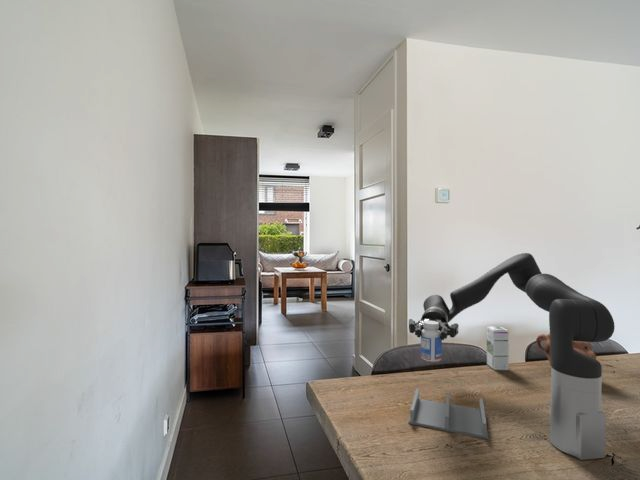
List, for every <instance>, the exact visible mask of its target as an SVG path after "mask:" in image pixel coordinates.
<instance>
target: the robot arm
mask: <svg viewBox="0 0 640 480" xmlns="http://www.w3.org/2000/svg"><path fill="white" fill-rule="evenodd" d="M506 274H508V277H510V280H511V283H513V285H514V286H515V287H516V288H517V289H518V290H520V291H522V292H524V293H525V294H526V296H528V297H529V299H530V300H531V301H532V303H534V304H535V306H537V307H538V308H540V309H541V310H543V311H545V312H548V324H549V325H548V326H549V333H550V353H551V365H550V367H551V368H550V413H549V414H550V417H549V418H550V421H549V422H550V429H549V430H550V431H549V439H550V443H551V444H552V446H554V447H555V448H556V449H558V450H559V451H561V452H563V453H566V454H568V455H570V456H572V457H575V458H577V459H578V460H580V461H582V460H583V461H585V460H595V459H604V458H606V419H607V416H606V413H605V412H602V383H603V382H602V381H603V380H602V375H603V374H602V373H603V368H602V367H603V366H602V363H601V362H600V361H599V360H597V358H596V359H594V358H592V357H590V356H587V355H585V354H582V353H579V352H577V351H576V350H574V349H573V343H572V341H582V342H590V343H601V342H605V341H608V340H610V339H611V337H612V336H613V334H614V332H615V321H614V318H613V316H612V313H611V312H610V311H609V309H608V307H606V306H605V305H604V304H603V303H602V302H600V301H598V300H596V299H594V298H591V297H589V296H587V295H584V294H583V293H581V292H579V291H577V290H576V289H574V288H572V287H571V286H569V285H567V284H566V283H565V282H563V281H562V280H561V279H559V278H557V277H556V276H554V275H552V274H549V273H542V271H541V270H540V267H539V266H538V263H537V262H536V259H535V257H534V255H532V254H531V253H528V252H523V253H519V254H516V255H513V256H510V258H507V259H505V260H504V261H503V262H501V263H499V264H497V265H496V266H495V267H493V268H492V269H490V270H488V271H487V272H486V273H484V274H483V275H481V276H479V277H478V278H477V279H475V280H473V281H471V282H469V283H467V284H465V285H463V286H461V287H459V288H457V289H455V290H453V291H451V292H450V294H449V296H450V300H451V301H450V302H451V308H449V306H448V305H447V303H446V301H445V299H444V298H443V296H441V295H439V294H432V295H430V296H428V297H427V298H426V299H425V300H424V302H423V304H422V306H423V310H424V312H423V313H422V315H421V318H420V320H419V319H418V321H416V320H414V319H412V318H409V319H408V331H409V333H410V334H414V335H415V336H416V337H417V338H421V330H423V329H424V327H423V322H424V321H436V322H438V323H439V329H438V330H439V331H441V340H442V341H444V340H446V339H447V338H448V336H449V338H455V337H457V335H458V334H459V324H458V323H453V324H452V323H451V324H449V323H450V321H452V320H453V319H454V318H455V317H456V316H458V315H459V314H461V312H463V311H465V310H466V309H468V308H470V307H473V306H475V305H477V304H479V303H481V302H482V301H483V300H485V298H486V297H487V296H488V295H489V294H490V292H491V290H492V289H493V288H494V286H495V284H496V283H497V282H498V281H499V280H500V279H501V278H502V277H503V276H504V275H506ZM415 321H416V322H415Z"/></svg>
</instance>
